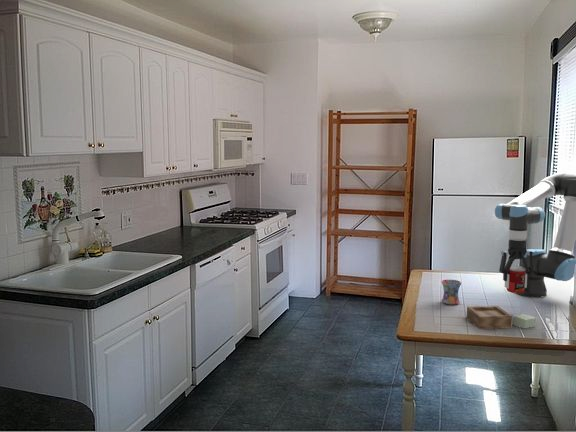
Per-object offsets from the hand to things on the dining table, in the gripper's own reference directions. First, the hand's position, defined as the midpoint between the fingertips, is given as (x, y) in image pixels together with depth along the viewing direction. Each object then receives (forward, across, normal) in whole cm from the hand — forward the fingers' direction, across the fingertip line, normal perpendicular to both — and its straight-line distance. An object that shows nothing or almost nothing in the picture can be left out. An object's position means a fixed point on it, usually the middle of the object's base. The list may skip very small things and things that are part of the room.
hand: (515, 287), depth 253 cm
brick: (+11, +5, +20) cm, 23 cm away
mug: (+11, +25, -15) cm, 31 cm away
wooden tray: (+11, +19, +15) cm, 27 cm away
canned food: (+2, 0, 0) cm, 2 cm away
